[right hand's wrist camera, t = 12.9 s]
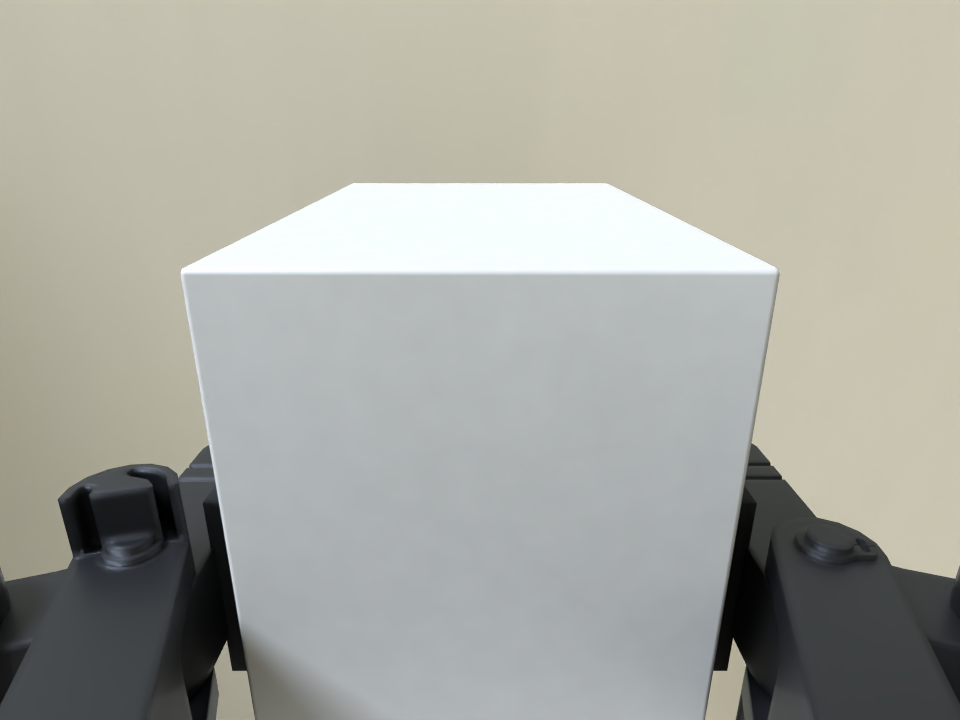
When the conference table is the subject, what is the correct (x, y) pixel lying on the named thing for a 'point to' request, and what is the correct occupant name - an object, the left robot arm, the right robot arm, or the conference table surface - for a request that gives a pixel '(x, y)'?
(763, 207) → the conference table surface
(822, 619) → the right robot arm
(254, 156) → the conference table surface
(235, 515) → the block
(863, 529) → the conference table surface
